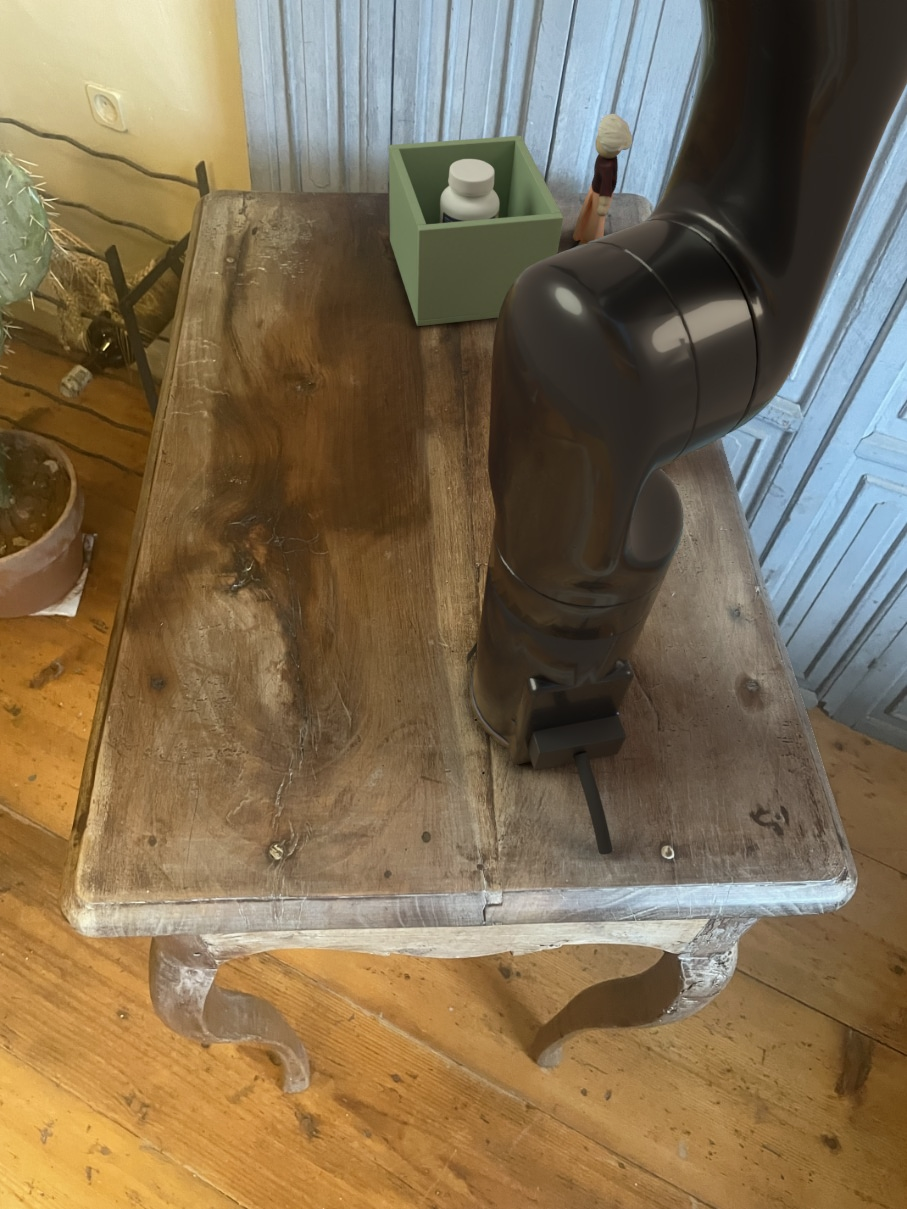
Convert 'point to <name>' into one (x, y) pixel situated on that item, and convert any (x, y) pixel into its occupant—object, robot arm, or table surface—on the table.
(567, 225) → the table surface
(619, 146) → the grandmother figurine
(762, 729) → the table surface
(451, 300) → the bin
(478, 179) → the pill bottle
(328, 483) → the table surface
